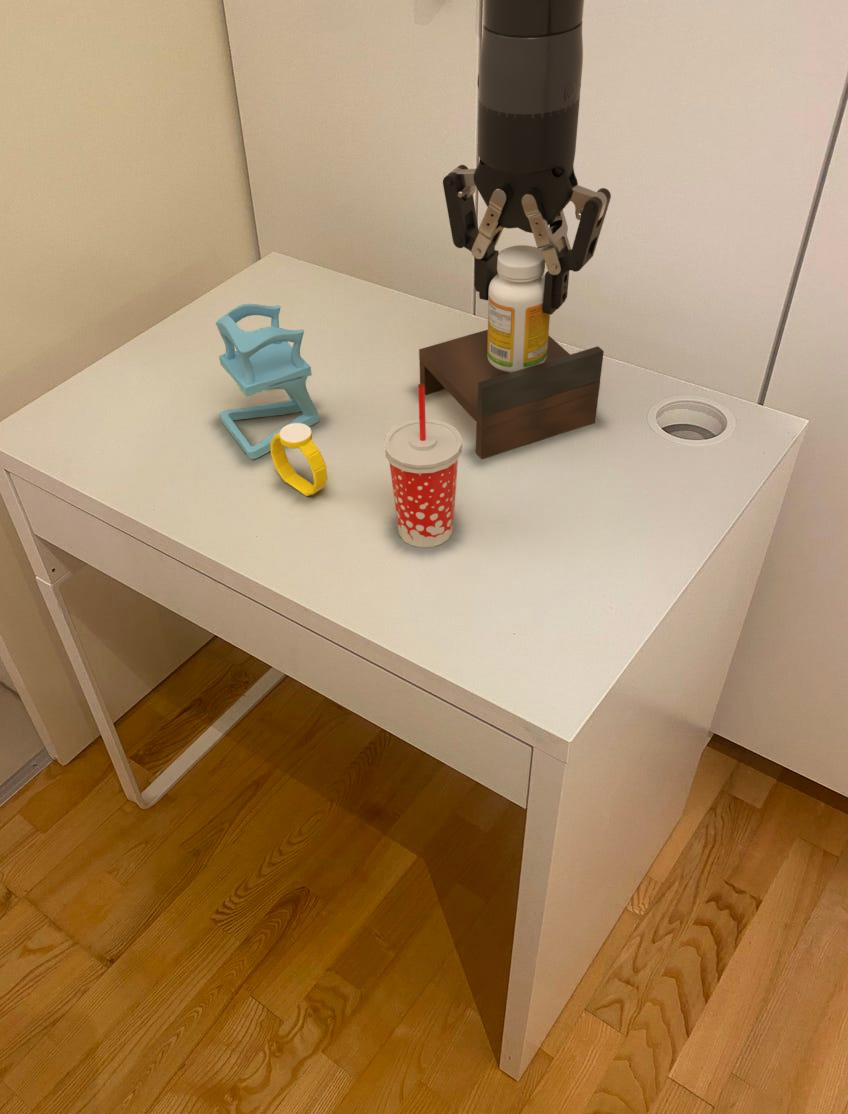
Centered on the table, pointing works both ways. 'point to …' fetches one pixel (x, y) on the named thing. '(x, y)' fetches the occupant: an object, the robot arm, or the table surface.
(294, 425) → the watch
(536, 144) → the robot arm
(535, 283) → the supplement bottle
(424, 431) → the beverage cup
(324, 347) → the table surface
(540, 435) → the shelf
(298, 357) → the chair
